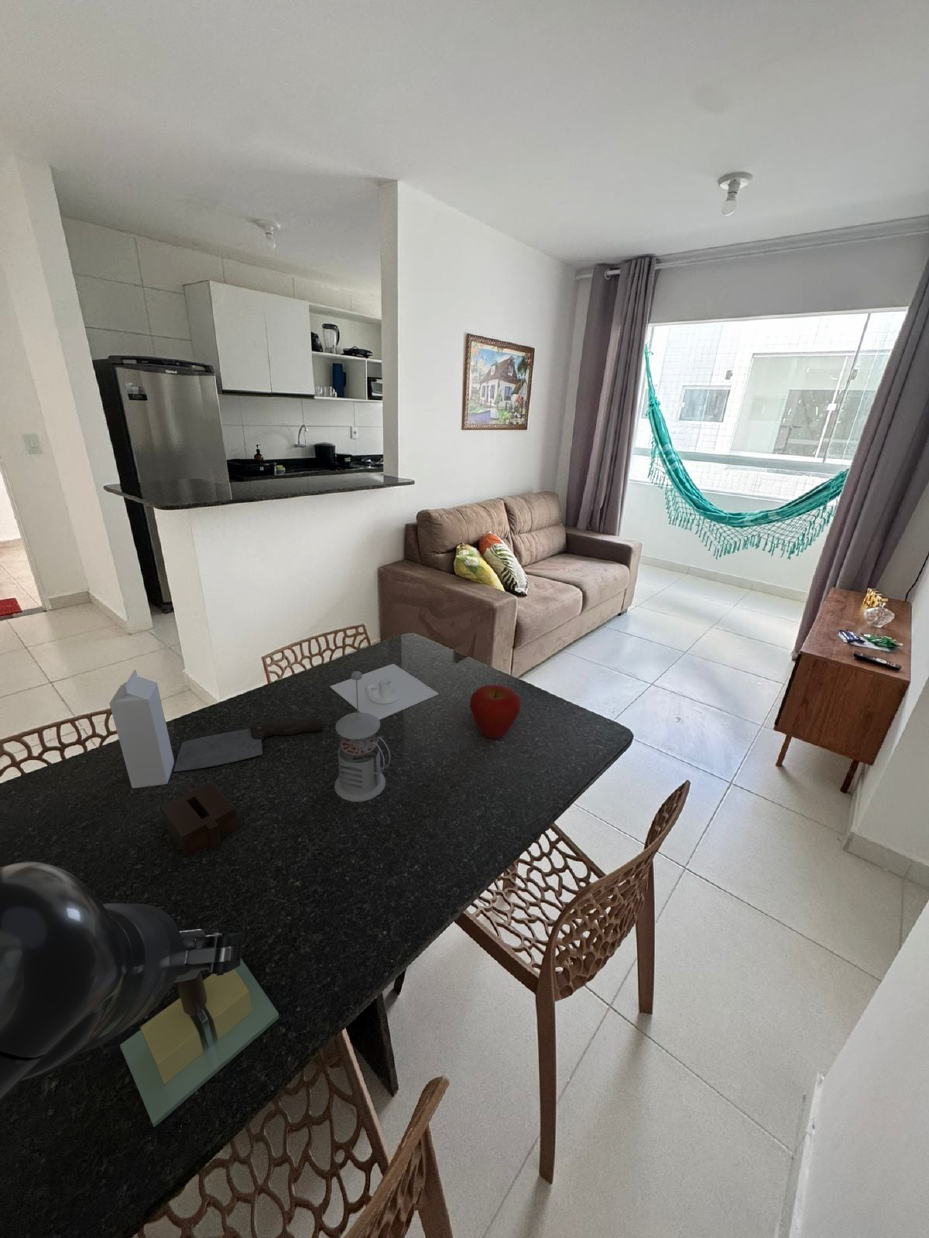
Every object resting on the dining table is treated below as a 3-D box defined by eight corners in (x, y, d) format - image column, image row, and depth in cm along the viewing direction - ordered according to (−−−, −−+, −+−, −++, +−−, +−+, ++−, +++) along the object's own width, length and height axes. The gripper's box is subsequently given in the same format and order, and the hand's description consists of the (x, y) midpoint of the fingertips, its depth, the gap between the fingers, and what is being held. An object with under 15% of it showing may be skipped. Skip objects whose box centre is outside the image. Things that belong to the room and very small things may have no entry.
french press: (357, 760, 106) (353, 653, 96) (403, 781, 101) (404, 671, 91) (323, 788, 98) (315, 675, 88) (370, 813, 93) (368, 696, 83)
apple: (518, 723, 121) (523, 679, 116) (514, 752, 111) (520, 705, 106) (472, 716, 122) (475, 673, 117) (464, 744, 112) (467, 697, 108)
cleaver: (321, 718, 118) (320, 711, 117) (328, 743, 110) (328, 735, 109) (177, 746, 107) (175, 738, 106) (173, 777, 99) (171, 768, 98)
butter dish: (154, 1127, 52) (144, 1102, 50) (121, 1048, 58) (111, 1023, 56) (279, 1017, 62) (275, 993, 60) (240, 959, 68) (235, 935, 66)
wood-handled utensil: (200, 1055, 58) (182, 989, 53) (182, 1020, 61) (164, 955, 56) (222, 1037, 59) (206, 972, 54) (203, 1004, 62) (187, 940, 57)
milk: (132, 789, 95) (103, 687, 86) (141, 767, 100) (115, 670, 91) (168, 784, 97) (144, 684, 88) (175, 763, 102) (153, 667, 93)
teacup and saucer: (360, 693, 129) (359, 679, 127) (386, 683, 134) (386, 669, 132) (380, 709, 123) (379, 694, 121) (406, 698, 128) (406, 684, 126)
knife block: (190, 863, 81) (186, 842, 79) (161, 821, 88) (156, 801, 87) (243, 832, 87) (239, 812, 85) (211, 796, 94) (208, 777, 93)
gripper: (232, 896, 36) (253, 899, 50) (-11, 911, 32) (84, 910, 46) (214, 1030, 32) (242, 994, 46) (-62, 1064, 29) (58, 1013, 42)
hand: (163, 952), depth 46 cm, fingers open, 8 cm apart
